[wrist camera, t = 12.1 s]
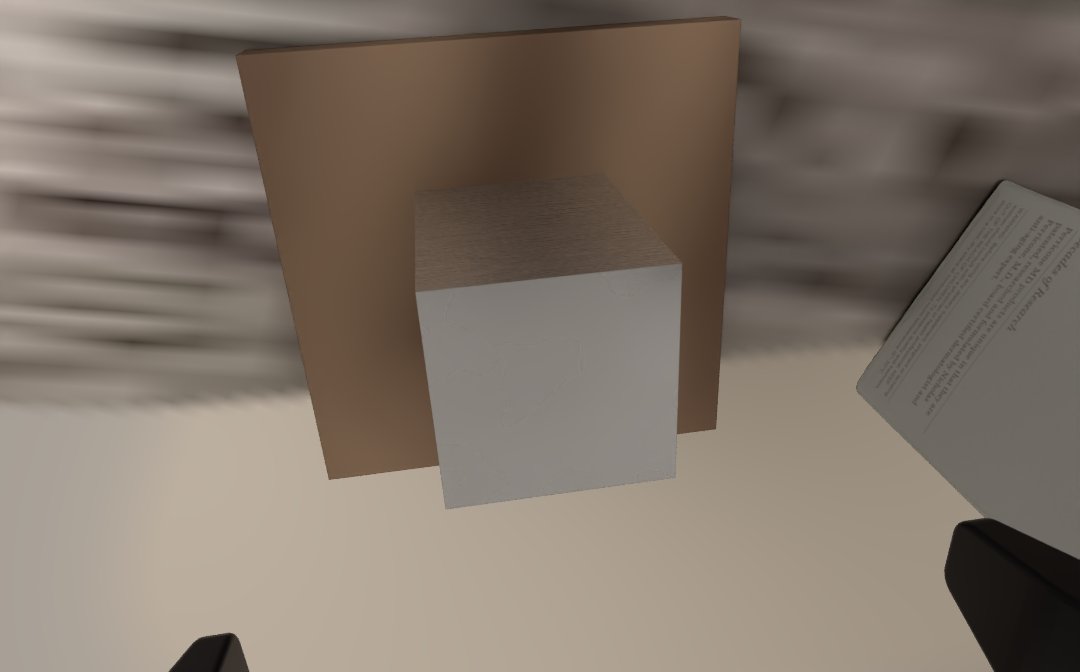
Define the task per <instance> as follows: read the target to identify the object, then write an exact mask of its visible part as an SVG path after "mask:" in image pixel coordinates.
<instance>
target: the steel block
mask: <svg viewBox="0 0 1080 672" xmlns="http://www.w3.org/2000/svg"><path fill="white" fill-rule="evenodd" d="M681 284H682V263H681V262H680V260H679V259H678V258H677V257H676V256H675V255H674V254H673V252H672V251H671V250H670V249H669V248H668V247H667V245H666V244H665V243H664V242H663V241H662V240H661V239H660V237H659V236H658V235H657V234H656V233H655V232H654V230H653V229H652V228H651V227H650V226H649V225H648V224H647V222H646V221H645V220H644V219H643V218H642V217H641V216H640V214H639V213H638V212H637V211H636V210H635V209H634V207H633V206H632V205H631V204H630V203H629V202H628V201H627V199H626V198H625V197H624V196H623V195H622V194H621V193H620V191H619V190H618V189H617V188H616V187H615V186H614V184H613V183H612V182H611V181H610V180H609V179H608V178H607V176H606V175H605V174H595V175H584V176H573V177H563V178H552V179H542V180H531V181H520V182H510V183H499V184H488V185H478V186H467V187H456V188H446V189H435V190H424V191H415V293H416V301H417V308H418V315H419V322H420V329H421V336H422V344H423V351H424V358H425V365H426V372H427V379H428V386H429V394H430V401H431V408H432V415H433V422H434V429H435V437H436V444H437V451H438V458H439V465H440V472H441V479H442V487H443V494H444V501H445V508H446V509H452V508H459V507H466V506H473V505H481V504H488V503H495V502H502V501H510V500H517V499H524V498H531V497H538V496H546V495H553V494H560V493H568V492H575V491H582V490H589V489H596V488H604V487H610V486H618V485H625V484H632V483H639V482H647V481H654V480H661V479H669V478H675V474H676V472H675V471H676V442H677V441H676V440H677V411H678V379H679V347H680V316H681Z"/></svg>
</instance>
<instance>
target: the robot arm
mask: <svg viewBox="0 0 1080 672" xmlns="http://www.w3.org/2000/svg"><path fill="white" fill-rule="evenodd" d="M944 571H945V580H946V583H947V586H948V588H949V591H950V592H951V594H952V596H953V598H954V600H955V602H956V603H957V605H958V607H959V609H960V611H961V613H962V614H963V616H964V618H965V620H966V622H967V623H968V625H969V627H970V629H971V631H972V632H973V634H974V636H975V638H976V640H977V642H978V643H979V645H980V647H981V649H982V651H983V652H984V654H985V656H986V658H987V659H988V662H989V663H990V665H991V667H992V669H993V670H994V672H1080V559H1078V558H1076V557H1073V556H1071V555H1069V554H1067V553H1065V552H1063V551H1061V550H1059V549H1056V548H1054V547H1052V546H1050V545H1048V544H1046V543H1044V542H1042V541H1040V540H1037V539H1035V538H1033V537H1031V536H1029V535H1027V534H1025V533H1023V532H1020V531H1018V530H1016V529H1014V528H1012V527H1010V526H1008V525H1006V524H1003V523H1001V522H999V521H997V520H995V519H991V518H982V519H975V520H968V521H963V522H960V523H959V524H958V525H957V526H956V527H955V529H954V531H953V536H952V540H951V544H950V548H949V552H948V556H947V560H946V564H945V569H944ZM169 672H249V669H248V666H247V663H246V660H245V657H244V654H243V651H242V647H241V644H240V641H239V639H238V638H237V636H236V635H235V634H233V633H225V634H218V635H212V636H206V637H201V638H199V639H198V640H196V641H195V642H194V643H193V644H192V645H191V646H190V647H189V648H188V650H187V651H186V652H185V653H184V654H183V655H182V657H181V658H180V659H179V660H178V661H177V662H176V664H175V665H174V666H173V667H172V668H171V669H170V671H169Z"/></svg>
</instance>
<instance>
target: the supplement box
mask: <svg viewBox="0 0 1080 672" xmlns="http://www.w3.org/2000/svg"><path fill="white" fill-rule="evenodd" d="M856 389H857V392H858V393H859V394H860V395H861V396H862V397H863V398H864V399H865V400H866V401H867V402H868V403H869V404H870V405H871V406H872V407H873V408H874V409H875V410H876V411H877V412H878V413H879V414H880V415H881V416H882V417H883V418H884V419H885V420H886V421H887V422H888V423H889V424H890V425H891V426H892V427H893V428H894V429H895V430H896V431H897V432H898V433H899V434H900V435H901V436H902V437H903V438H904V439H905V440H906V441H907V442H908V443H909V444H910V445H911V446H912V447H913V448H914V449H915V450H916V451H917V452H918V453H920V454H921V455H922V456H923V457H924V458H925V459H926V460H927V461H928V462H929V463H930V464H931V465H932V466H933V467H934V468H935V469H936V470H937V471H938V472H939V473H940V474H941V475H942V476H943V477H944V478H945V479H946V480H947V481H948V482H949V483H950V484H951V485H953V487H954V488H955V489H956V490H957V491H958V492H959V493H960V494H961V495H962V496H963V497H964V498H965V499H966V500H967V501H968V502H969V503H970V504H971V505H972V506H973V507H974V508H975V509H976V510H978V512H979V513H981V514H982V515H983V516H984V517H985V518H991V519H995V520H997V521H999V522H1001V523H1003V524H1006V525H1008V526H1010V527H1012V528H1014V529H1016V530H1018V531H1020V532H1023V533H1025V534H1027V535H1029V536H1031V537H1033V538H1035V539H1037V540H1040V541H1042V542H1044V543H1046V544H1048V545H1050V546H1052V547H1054V548H1056V549H1059V550H1061V551H1063V552H1065V553H1067V554H1069V555H1071V556H1073V557H1076V558H1078V559H1080V209H1077V208H1075V207H1072V206H1070V205H1067V204H1065V203H1062V202H1060V201H1057V200H1054V199H1052V198H1049V197H1046V196H1044V195H1041V194H1039V193H1036V192H1034V191H1031V190H1029V189H1026V188H1024V187H1021V186H1019V185H1017V184H1015V183H1013V182H1011V181H1008V180H1006V181H1003V182H1001V183H1000V184H999V186H998V187H997V188H996V190H995V191H994V192H993V193H992V195H991V196H990V197H989V199H988V200H987V201H986V203H985V204H984V206H983V207H982V209H981V210H980V211H979V213H978V214H977V215H976V216H975V218H974V219H973V220H972V222H971V223H970V225H969V226H968V228H967V229H966V230H965V232H964V233H963V234H962V236H961V237H960V239H959V240H958V242H957V243H956V244H955V246H954V247H953V249H952V250H951V251H950V253H949V254H948V255H947V257H946V258H945V259H944V261H943V262H942V263H941V265H940V266H939V268H938V269H937V270H936V272H935V273H934V275H933V276H932V278H931V279H930V280H929V282H928V283H927V284H926V286H925V287H924V288H923V290H922V291H921V292H920V294H919V295H918V296H917V298H916V299H915V301H914V302H913V303H912V305H911V306H910V308H909V309H908V311H907V312H906V313H905V315H904V316H903V318H902V319H901V321H900V322H899V323H898V325H897V326H896V327H895V329H894V330H893V331H892V333H891V334H890V336H889V337H888V339H887V340H886V342H885V343H884V344H883V346H882V347H881V349H880V350H879V351H878V353H877V354H876V355H875V356H874V358H873V360H872V362H871V363H870V364H869V365H868V367H867V368H866V370H865V372H864V373H863V375H862V376H861V378H860V379H859V381H858V383H857V386H856Z"/></svg>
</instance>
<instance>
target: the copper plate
mask: <svg viewBox="0 0 1080 672" xmlns="http://www.w3.org/2000/svg"><path fill="white" fill-rule="evenodd" d="M740 27H741V19H737V18H732V17H727V16H720V17H706V18H692V19H678V20H664V21H650V22H636V23H622V24H607V25H593V26H579V27H565V28H551V29H537V30H523V31H509V32H495V33H481V34H467V35H453V36H439V37H425V38H411V39H397V40H383V41H369V42H355V43H341V44H327V45H313V46H299V47H285V48H271V49H257V50H245V51H243V52H241V53H239V54H238V55H236V60H237V65H238V69H239V74H240V78H241V83H242V87H243V92H244V96H245V101H246V105H247V110H248V114H249V119H250V123H251V128H252V133H253V137H254V142H255V146H256V151H257V155H258V160H259V164H260V169H261V173H262V178H263V182H264V187H265V192H266V196H267V201H268V205H269V210H270V214H271V219H272V223H273V228H274V232H275V237H276V241H277V246H278V251H279V255H280V260H281V264H282V269H283V273H284V278H285V282H286V287H287V291H288V296H289V300H290V305H291V309H292V314H293V319H294V323H295V328H296V332H297V337H298V341H299V346H300V350H301V355H302V359H303V364H304V368H305V373H306V378H307V382H308V387H309V391H310V396H311V400H312V405H313V409H314V414H315V418H316V423H317V427H318V432H319V436H320V441H321V446H322V450H323V455H324V459H325V464H326V468H327V473H328V477H329V480H331V479H339V478H346V477H354V476H362V475H369V474H376V473H384V472H391V471H400V470H407V469H414V468H422V467H430V466H438V465H439V458H438V451H437V444H436V437H435V429H434V422H433V415H432V408H431V401H430V394H429V386H428V379H427V372H426V365H425V358H424V351H423V344H422V336H421V329H420V322H419V315H418V308H417V301H416V293H415V191H424V190H435V189H446V188H456V187H467V186H478V185H488V184H499V183H510V182H520V181H531V180H542V179H552V178H563V177H573V176H584V175H595V174H605V175H606V176H607V178H608V179H609V180H610V181H611V182H612V183H613V184H614V186H615V187H616V188H617V189H618V190H619V191H620V193H621V194H622V195H623V196H624V197H625V198H626V199H627V201H628V202H629V203H630V204H631V205H632V206H633V207H634V209H635V210H636V211H637V212H638V213H639V214H640V216H641V217H642V218H643V219H644V220H645V221H646V222H647V224H648V225H649V226H650V227H651V228H652V229H653V230H654V232H655V233H656V234H657V235H658V236H659V237H660V239H661V240H662V241H663V242H664V243H665V244H666V245H667V247H668V248H669V249H670V250H671V251H672V252H673V254H674V255H675V256H676V257H677V258H678V259H679V260H680V262H681V263H682V284H681V316H680V347H679V379H678V411H677V434H682V433H689V432H697V431H705V430H712V429H716V420H717V404H718V387H719V386H718V385H719V371H720V355H721V338H722V322H723V305H724V289H725V273H726V256H727V240H728V223H729V207H730V191H731V174H732V158H733V141H734V125H735V109H736V92H737V76H738V59H739V43H740Z"/></svg>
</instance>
